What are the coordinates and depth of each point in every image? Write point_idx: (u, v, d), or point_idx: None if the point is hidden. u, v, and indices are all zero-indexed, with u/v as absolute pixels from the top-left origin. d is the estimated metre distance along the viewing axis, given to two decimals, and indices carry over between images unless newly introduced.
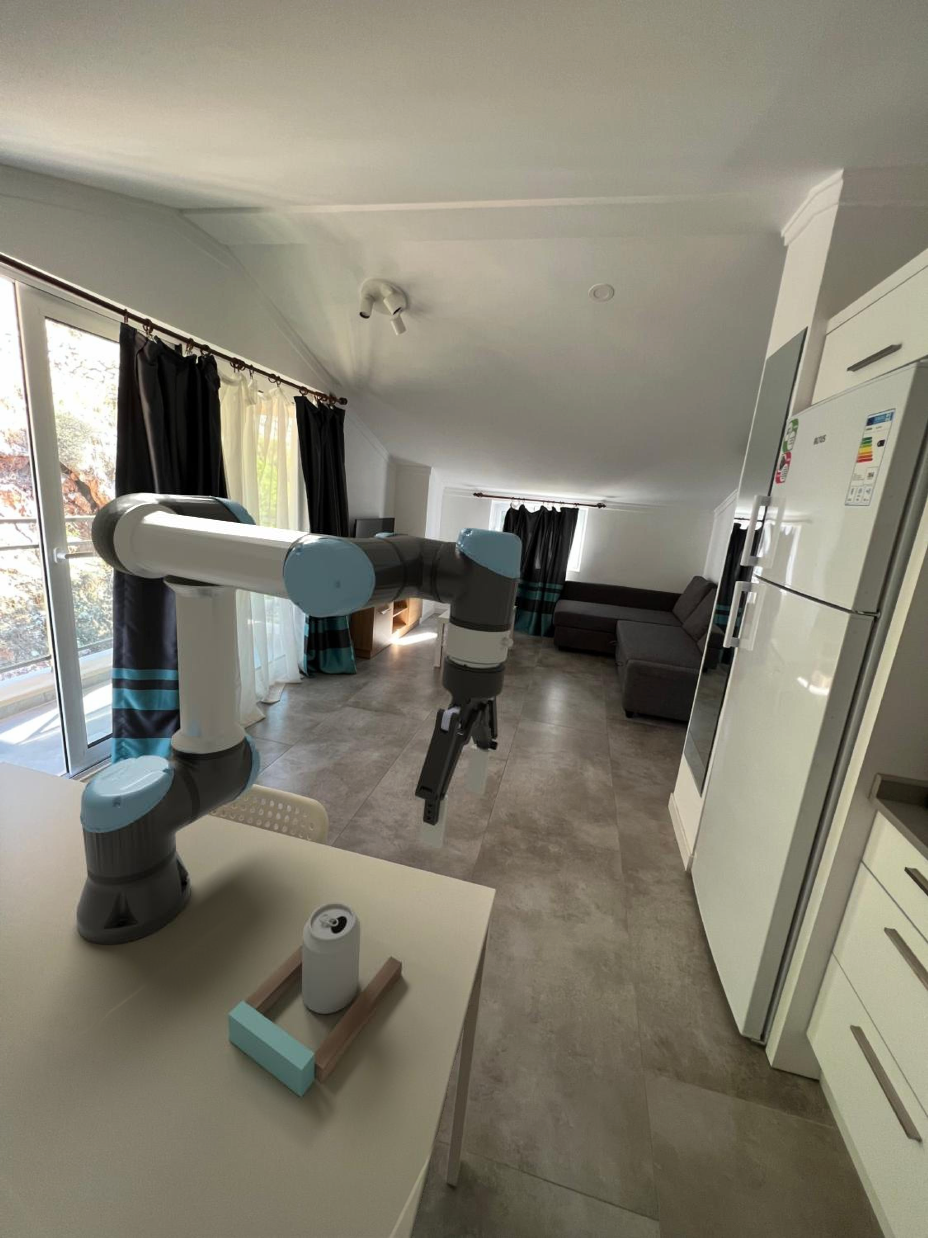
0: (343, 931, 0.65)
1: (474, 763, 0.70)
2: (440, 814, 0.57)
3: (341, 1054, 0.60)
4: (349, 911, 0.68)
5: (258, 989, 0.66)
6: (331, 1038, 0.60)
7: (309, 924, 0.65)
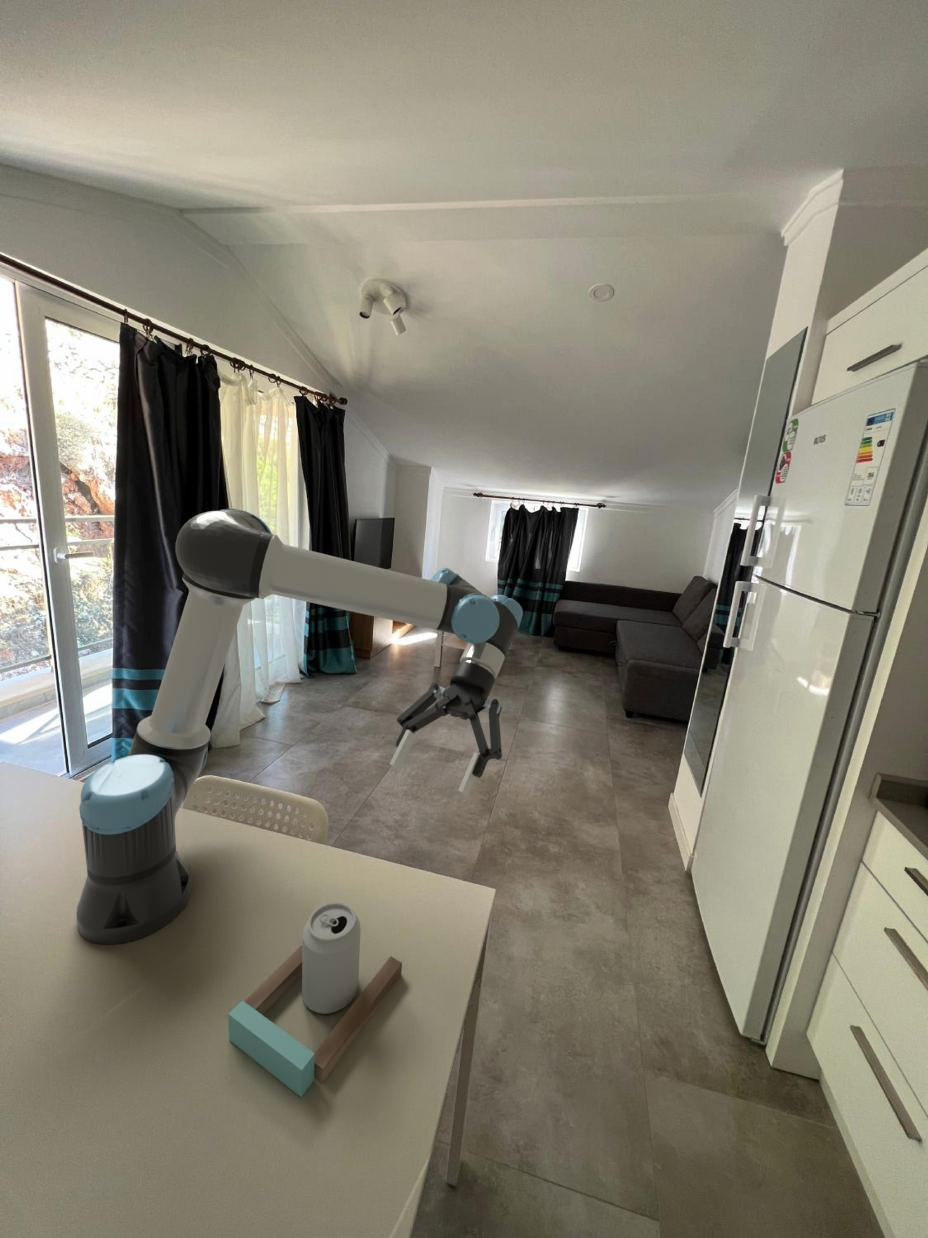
0: (343, 931, 0.65)
1: (406, 744, 0.87)
2: None
3: (341, 1054, 0.60)
4: (349, 911, 0.68)
5: (258, 989, 0.66)
6: (331, 1038, 0.60)
7: (309, 924, 0.65)
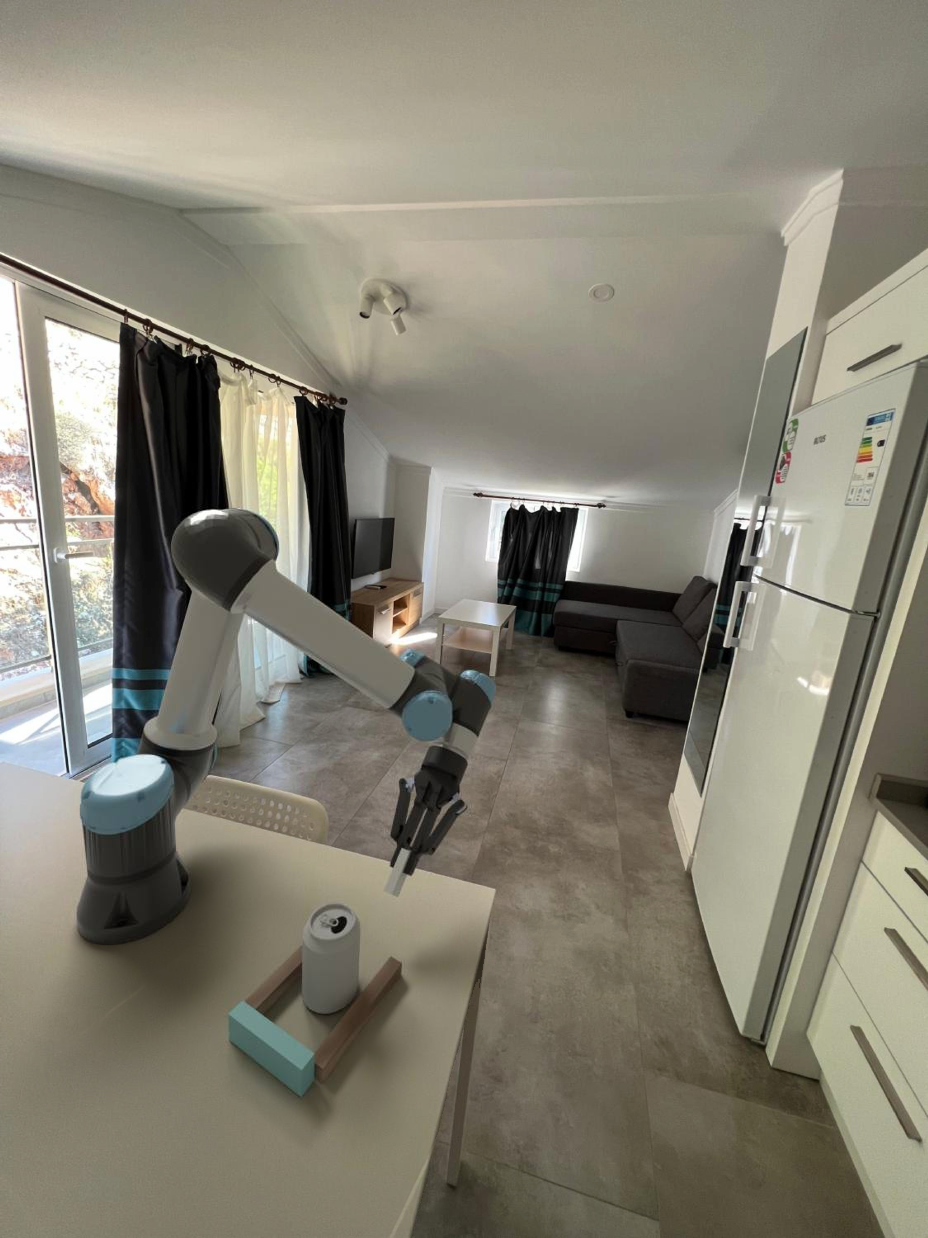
0: (343, 931, 0.65)
1: None
2: None
3: (341, 1054, 0.60)
4: (349, 911, 0.68)
5: (258, 989, 0.66)
6: (331, 1038, 0.60)
7: (309, 924, 0.65)
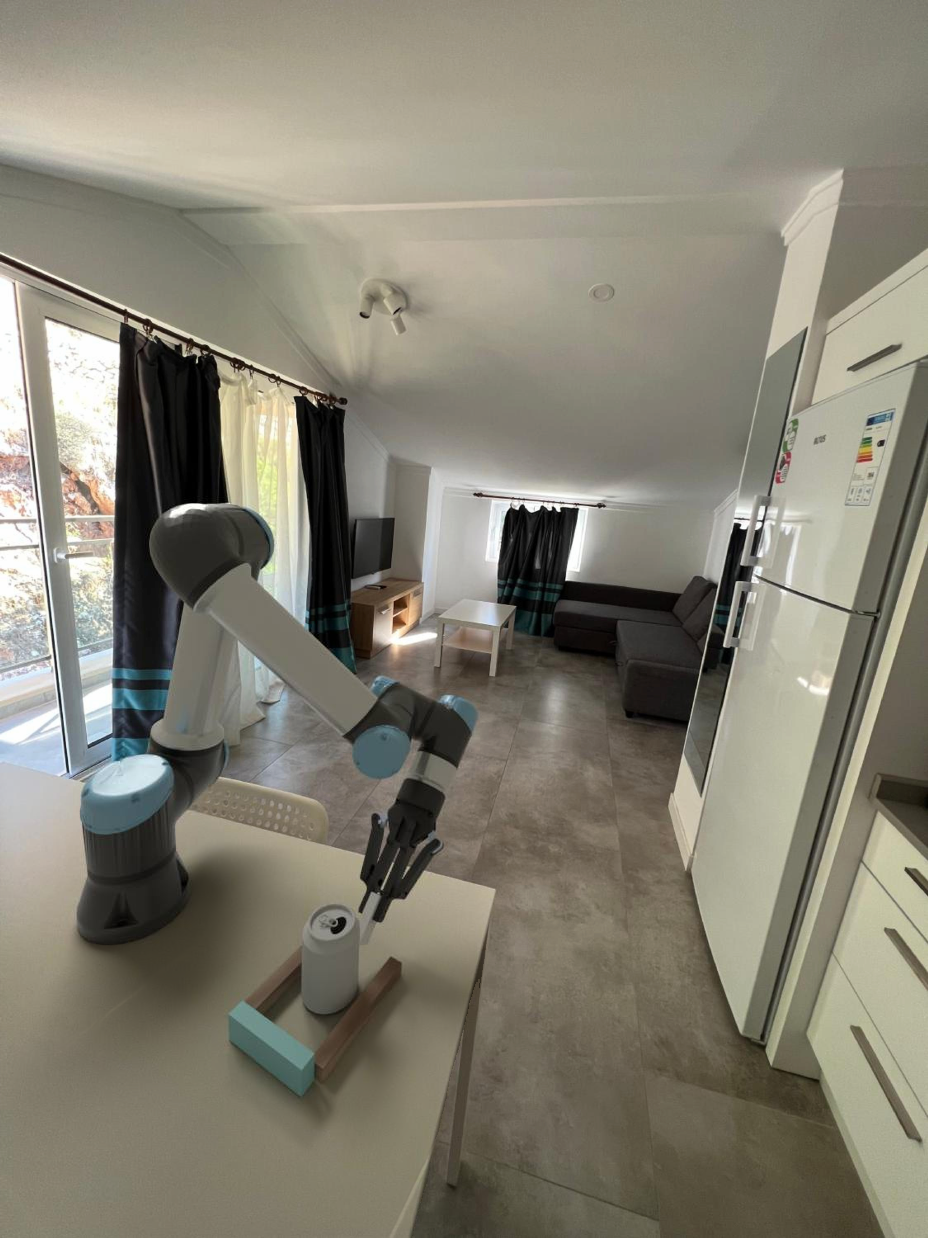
0: (343, 932, 0.65)
1: None
2: None
3: (341, 1054, 0.60)
4: (349, 912, 0.68)
5: (258, 989, 0.66)
6: (331, 1038, 0.60)
7: (308, 925, 0.65)
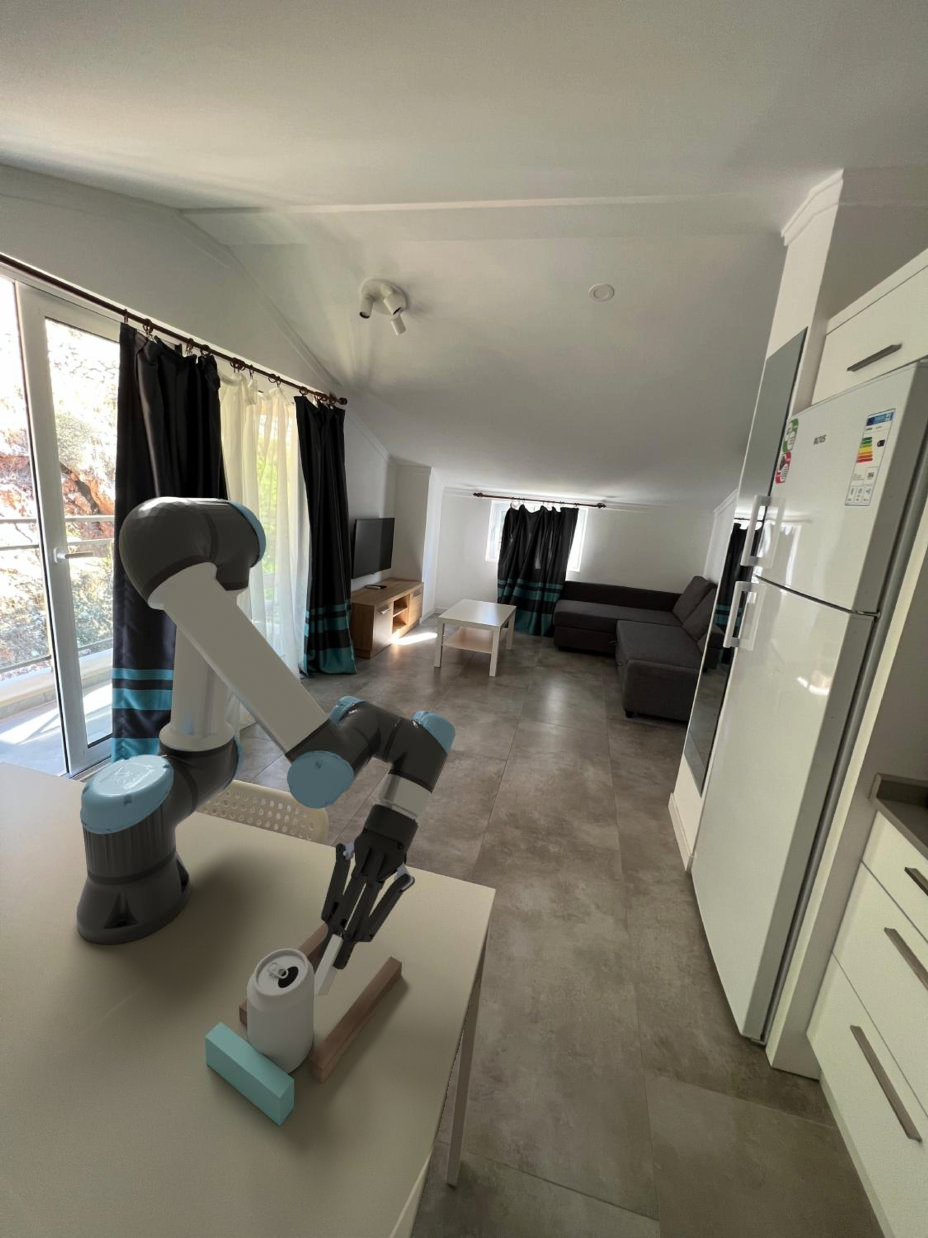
0: (291, 986, 0.57)
1: None
2: None
3: (341, 1054, 0.60)
4: (303, 961, 0.60)
5: None
6: (331, 1038, 0.60)
7: (255, 973, 0.58)
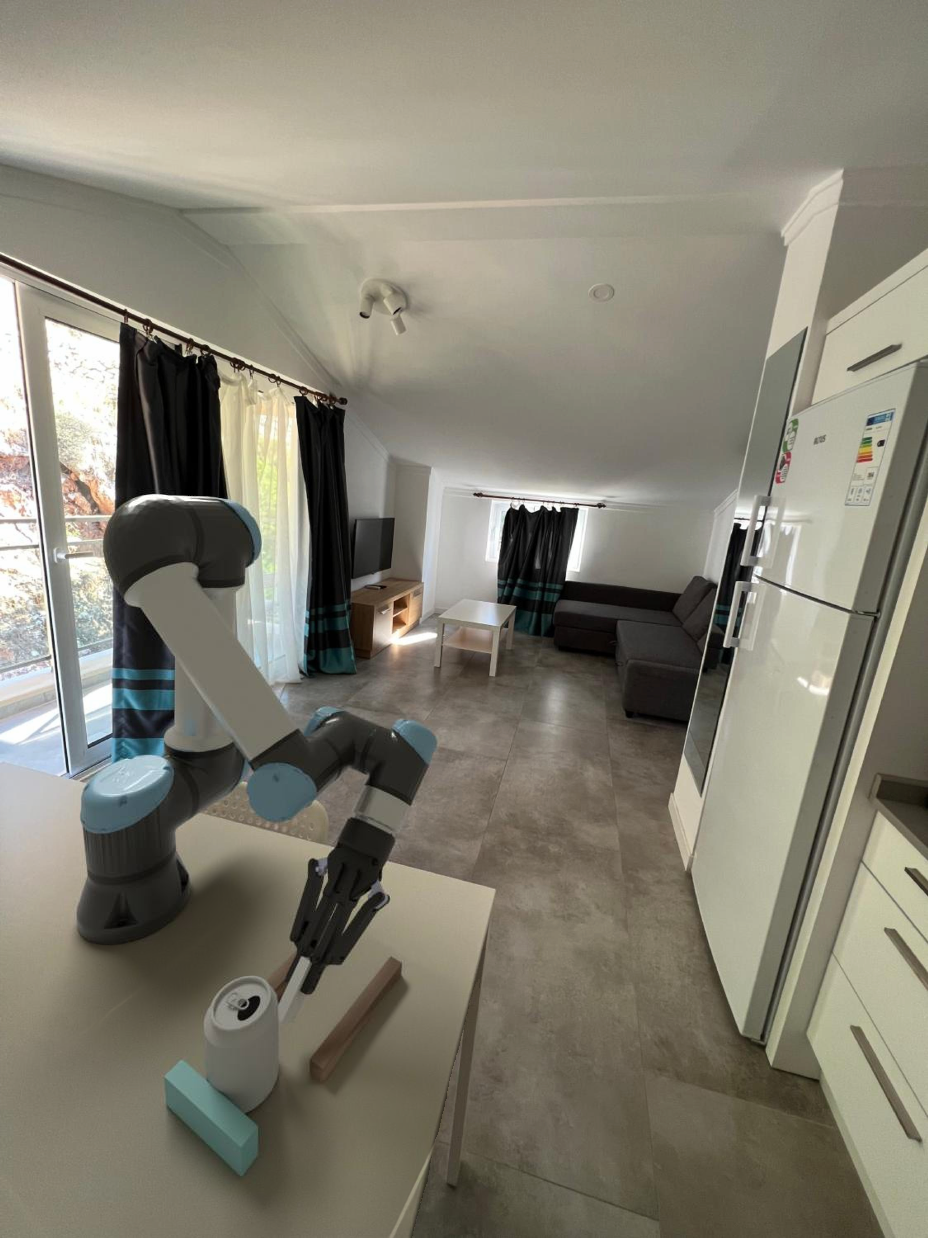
0: (251, 1018, 0.53)
1: None
2: None
3: (341, 1054, 0.60)
4: (266, 989, 0.56)
5: None
6: (331, 1038, 0.60)
7: (212, 1006, 0.54)
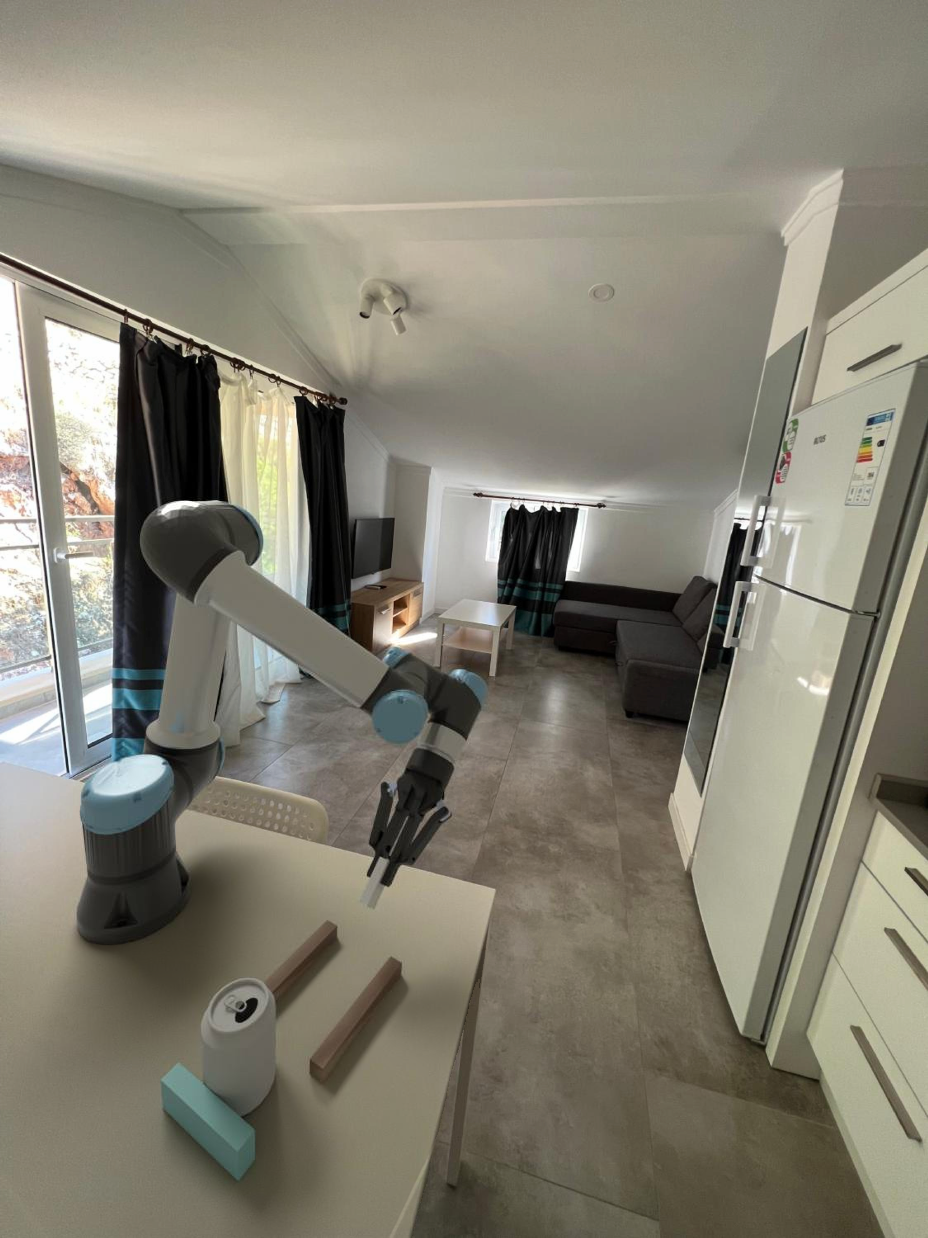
0: (249, 1020, 0.53)
1: None
2: None
3: (341, 1054, 0.60)
4: (263, 991, 0.56)
5: None
6: (331, 1038, 0.60)
7: (209, 1008, 0.53)
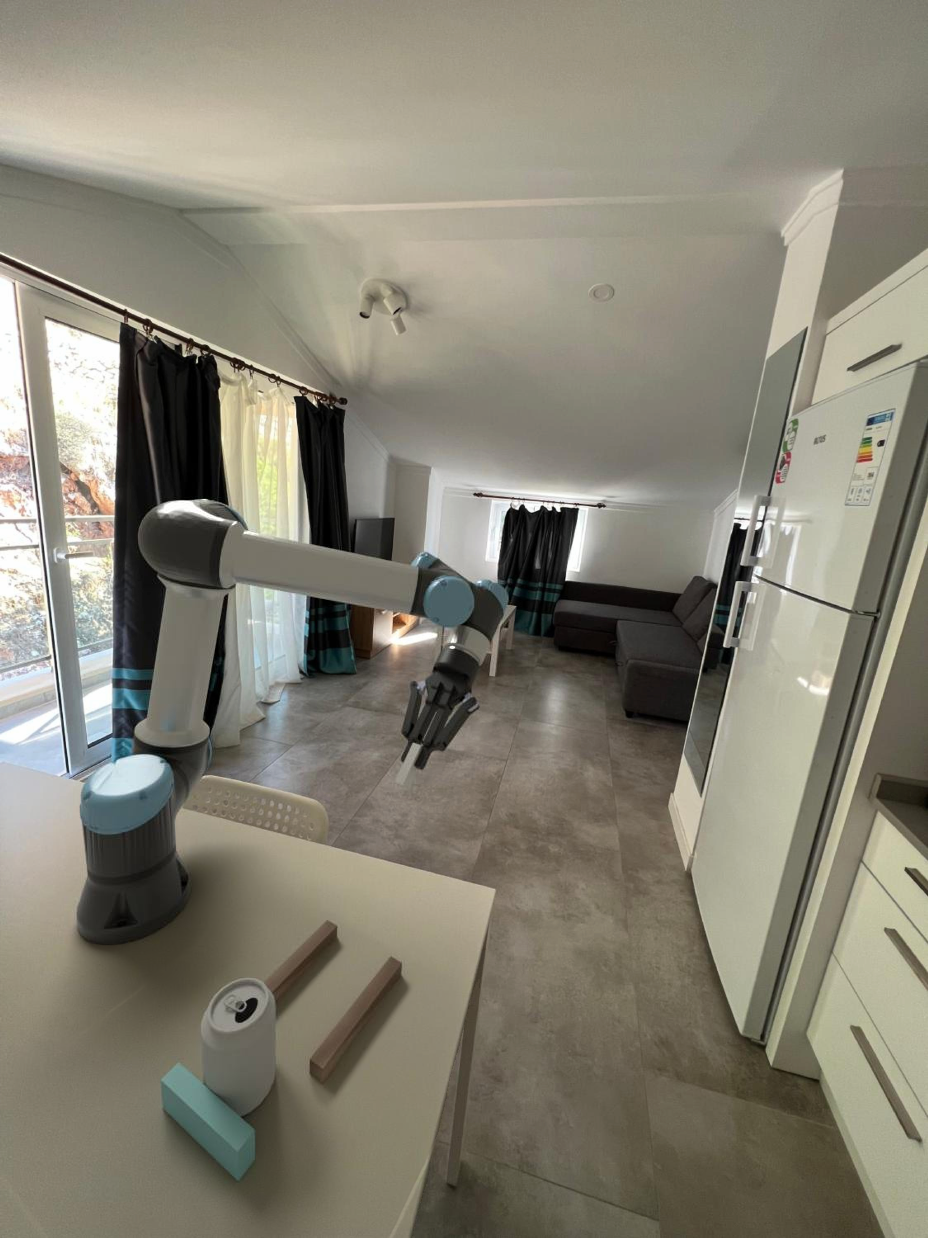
0: (249, 1020, 0.53)
1: None
2: None
3: (341, 1054, 0.60)
4: (263, 991, 0.56)
5: None
6: (331, 1038, 0.60)
7: (209, 1008, 0.53)
